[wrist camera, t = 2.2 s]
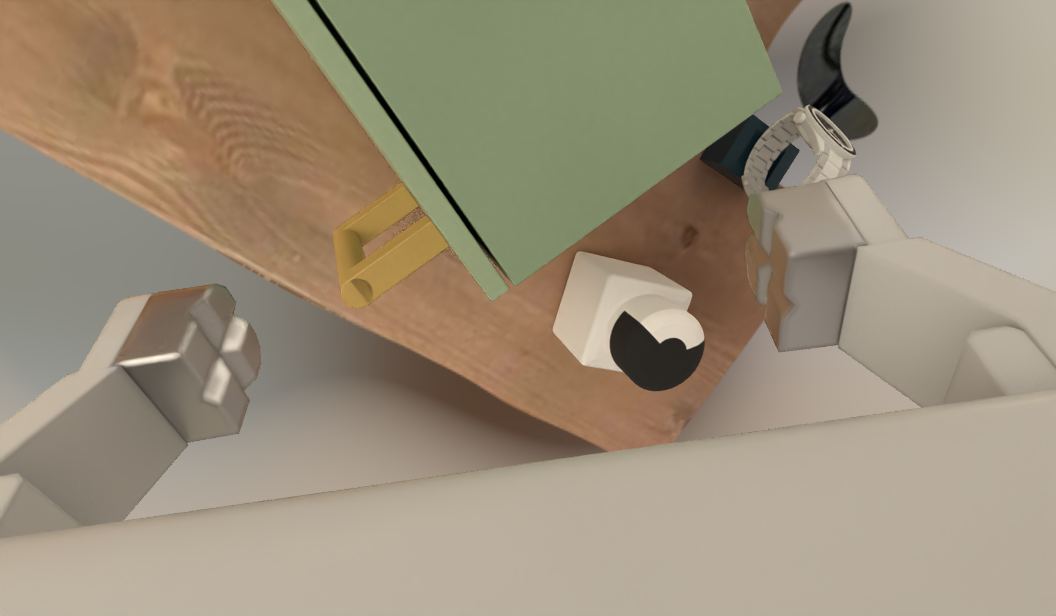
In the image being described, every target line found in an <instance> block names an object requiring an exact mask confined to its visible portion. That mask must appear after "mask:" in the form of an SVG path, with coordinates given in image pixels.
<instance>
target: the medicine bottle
mask: <svg viewBox="0 0 1056 616" xmlns="http://www.w3.org/2000/svg"><path fill="white" fill-rule="evenodd" d="M691 298H692V293H691V292H690V291H689V290H687V289H685V288H684V287H682V286H680V285H679V284H677V283H676V282H674V281H672V280H671V279H669V278H667V277H666V276H664V275H662V274H661V273H659V272H657V271H656V270H654V269H652V268H651V267H647V266H643V265H638V264H634V263H630V262H625V261H621V260H617V259H613V258H608V257H604V256H600V255H595V254H591V253H587V252H582V251H578V252H577V253H576V255H575V258H574V261H573V264H572V268H571V271H570V274H569V277H568V281H567V284H566V287H565V290H564V294H563V297H562V300H561V303H560V307H559V310H558V313H557V316H556V320H555V323H554V326H553V333H554V334H555V335H556V336H557V337H558V338H559V339H560V341H561V342H562V343H563V344H564V345H565V346H566V347H567V348H568V349H569V351H570V352H571V353H572V354H573V355H574V356H575V357H576V358H577V359H578V361H579V362H580V363H581V364H582V365H585V366H590V367H596V368H602V369H608V370H614V371H620V372H624V373H625V374H626V375H627V376H628V377H629V378H630V379H631V380H632V381H633V382H634V383H635V384H636V385H638V386H639V387H641V388H643V389H646V390H650V391H663V390H668V389H671V388H673V387H675V386H677V385H679V384H681V383H682V382H684V381H685V380H686V379H687V378H688V377H690V376H691V374H692V373H693V372H694V371H695V369H696V368H697V366H698V364H699V362H700V360H701V358H702V355H703V351H704V344H705V343H704V333H703V330H702V327H701V325H700V323H699V322H698V321H697V319H696V318H695V317H693V316H692V315H691V314H689V313H688V312H687V310H688V307H689V304H690V301H691Z"/></svg>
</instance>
